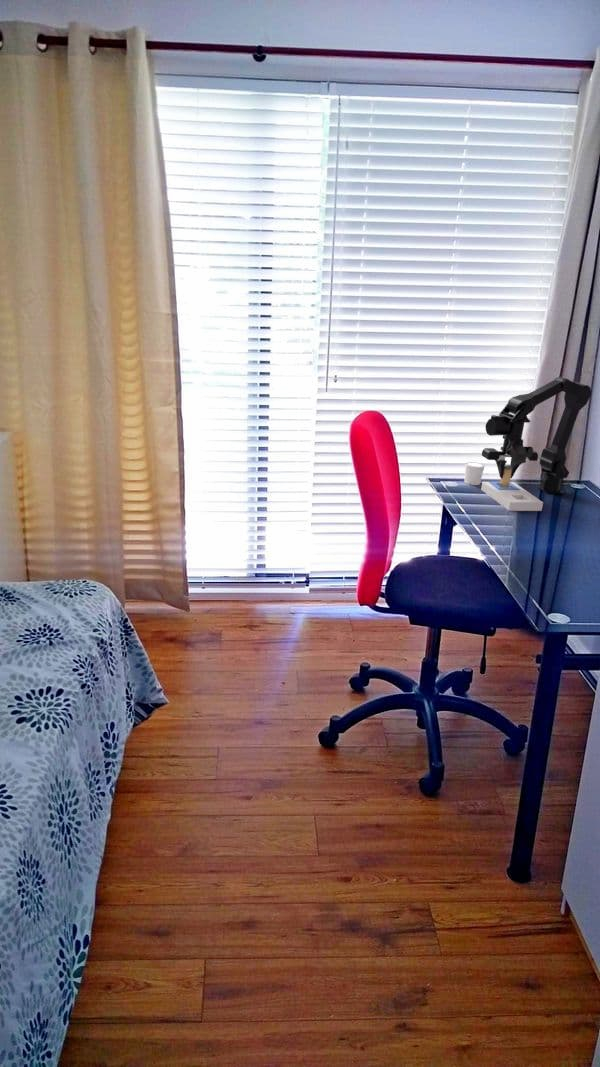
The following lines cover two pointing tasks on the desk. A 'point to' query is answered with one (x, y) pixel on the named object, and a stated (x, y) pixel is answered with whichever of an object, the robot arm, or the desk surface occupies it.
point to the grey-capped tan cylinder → (506, 476)
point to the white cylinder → (473, 473)
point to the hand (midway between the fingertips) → (505, 478)
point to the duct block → (512, 497)
